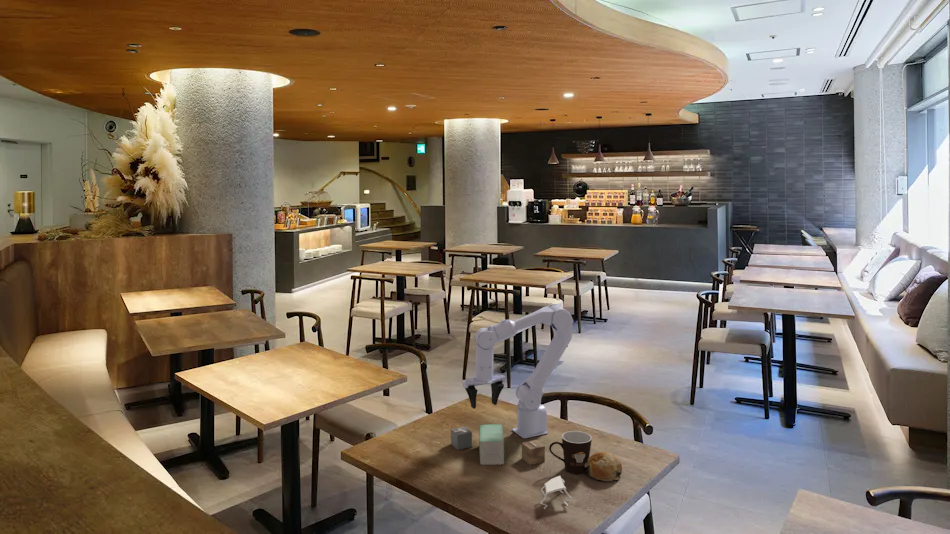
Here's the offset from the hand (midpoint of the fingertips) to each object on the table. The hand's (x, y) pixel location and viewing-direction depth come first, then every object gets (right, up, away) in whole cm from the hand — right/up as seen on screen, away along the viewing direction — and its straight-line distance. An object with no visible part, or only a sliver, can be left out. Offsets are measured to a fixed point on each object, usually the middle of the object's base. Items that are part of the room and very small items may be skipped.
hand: (483, 405), depth 205 cm
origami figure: (+19, -17, -39) cm, 46 cm away
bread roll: (+34, -14, -25) cm, 44 cm away
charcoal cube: (-7, -12, -5) cm, 15 cm away
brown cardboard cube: (+15, -13, -16) cm, 25 cm away
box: (+2, -13, -12) cm, 18 cm away
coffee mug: (+25, -14, -21) cm, 36 cm away
